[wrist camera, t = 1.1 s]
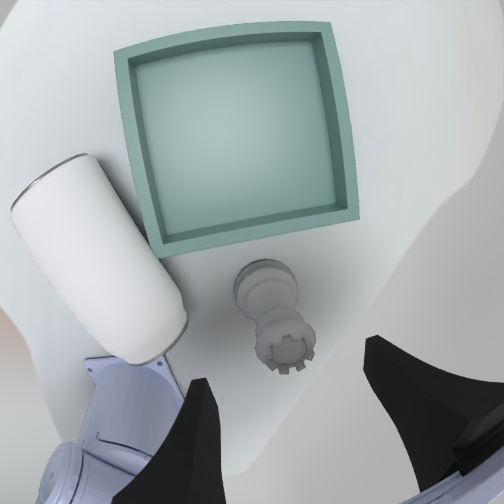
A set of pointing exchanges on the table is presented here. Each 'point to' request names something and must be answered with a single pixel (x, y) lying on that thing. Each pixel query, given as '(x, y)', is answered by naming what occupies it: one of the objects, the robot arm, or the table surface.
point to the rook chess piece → (275, 315)
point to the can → (100, 261)
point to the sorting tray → (237, 133)
